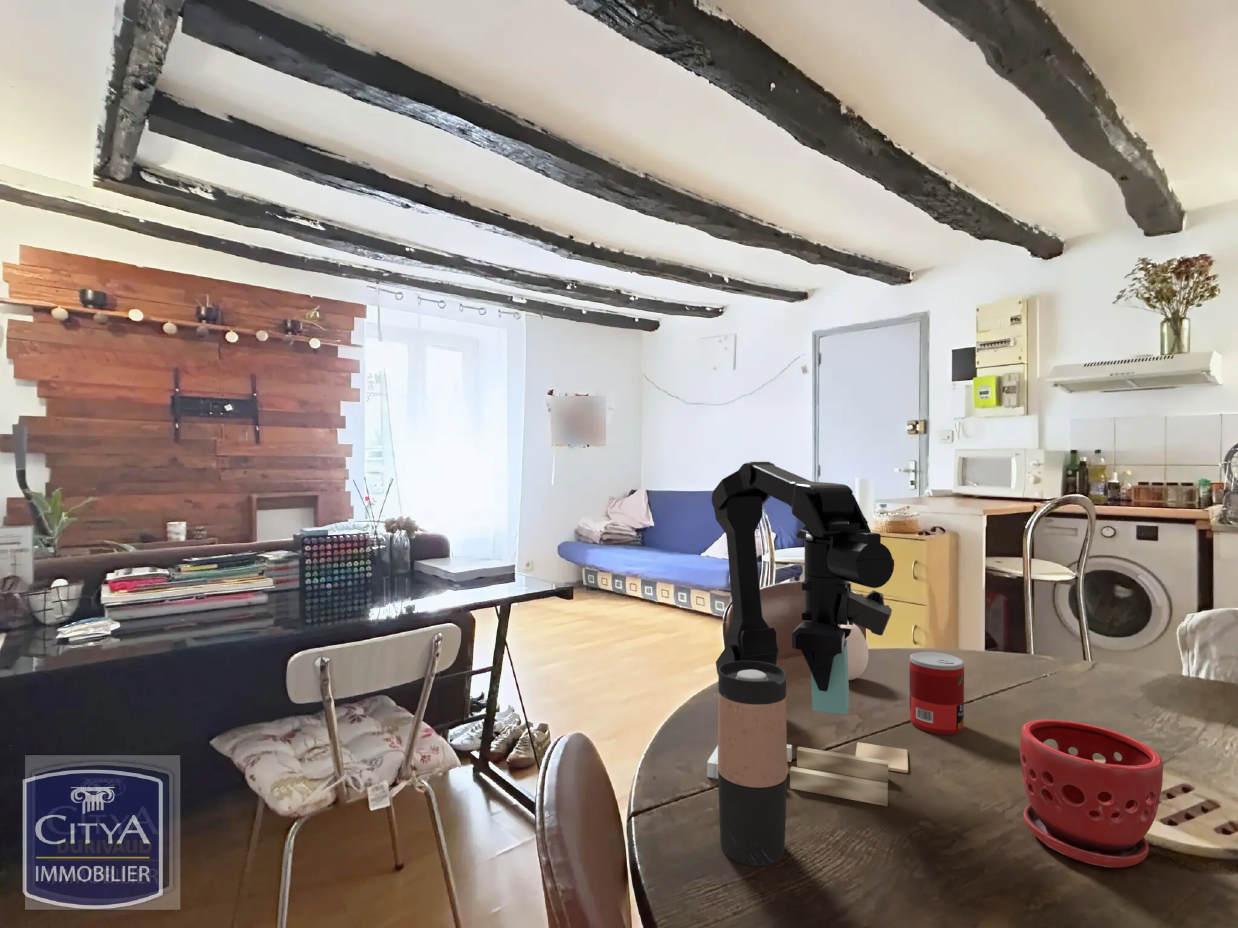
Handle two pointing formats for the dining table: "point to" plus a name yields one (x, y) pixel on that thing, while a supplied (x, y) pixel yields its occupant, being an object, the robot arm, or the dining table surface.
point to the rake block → (833, 687)
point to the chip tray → (713, 762)
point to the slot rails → (840, 783)
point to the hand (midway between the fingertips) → (825, 685)
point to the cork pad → (885, 755)
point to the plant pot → (1090, 791)
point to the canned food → (937, 692)
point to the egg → (856, 652)
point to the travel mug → (752, 761)
